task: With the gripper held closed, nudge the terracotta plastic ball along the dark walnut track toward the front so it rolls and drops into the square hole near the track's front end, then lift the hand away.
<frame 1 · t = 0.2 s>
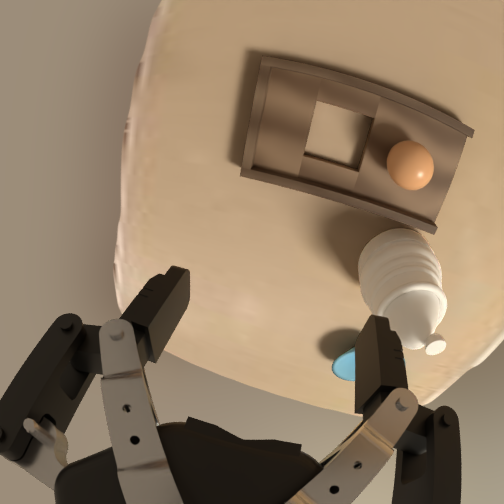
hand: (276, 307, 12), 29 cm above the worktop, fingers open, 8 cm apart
track: (360, 142, 33), on the worktop
honey pot: (396, 263, 41), on the worktop
ball: (410, 165, 29), point 4 cm above the worktop, touching track
light blue flared piece: (371, 354, 53), on the worktop
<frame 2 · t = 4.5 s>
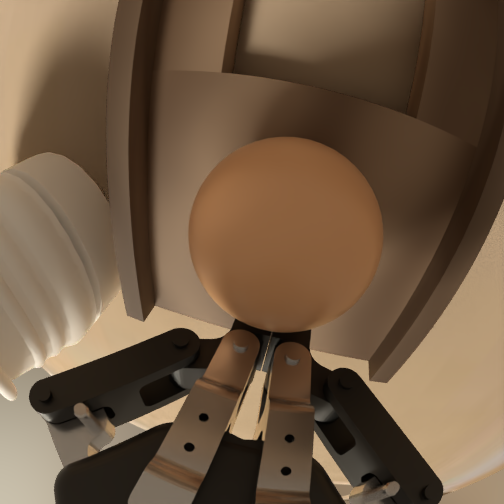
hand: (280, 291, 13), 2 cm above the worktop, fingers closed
track: (323, 72, 10), on the worktop
honey pot: (64, 232, 18), on the worktop
ball: (286, 234, 9), point 4 cm above the worktop, tilted 10°, touching gripper, track
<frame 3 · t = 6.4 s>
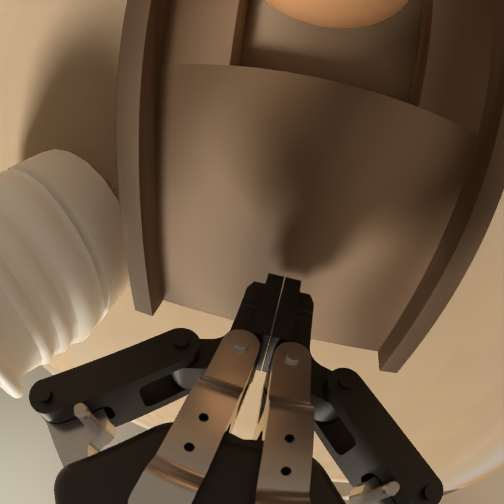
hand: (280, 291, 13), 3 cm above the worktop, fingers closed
track: (328, 65, 10), on the worktop
honey pot: (70, 229, 18), on the worktop
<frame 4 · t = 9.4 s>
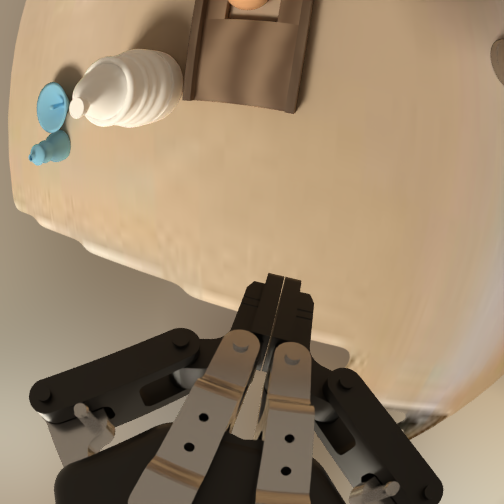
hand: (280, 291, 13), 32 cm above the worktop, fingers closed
track: (253, 17, 30), on the worktop
honey pot: (149, 86, 39), on the worktop
light blue flared piece: (64, 120, 45), on the worktop
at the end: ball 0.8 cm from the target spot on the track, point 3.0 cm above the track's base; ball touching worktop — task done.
